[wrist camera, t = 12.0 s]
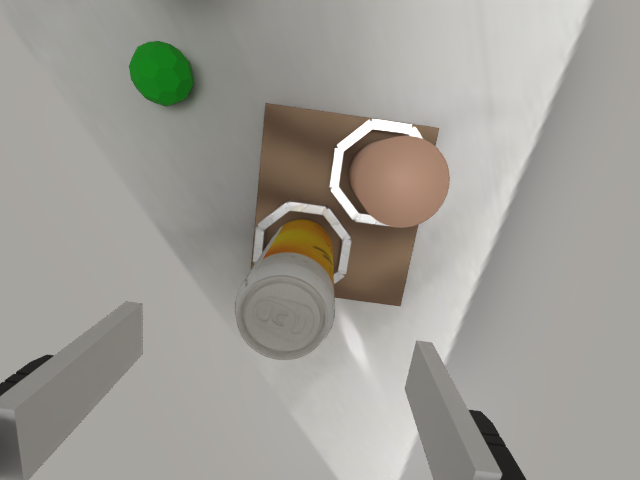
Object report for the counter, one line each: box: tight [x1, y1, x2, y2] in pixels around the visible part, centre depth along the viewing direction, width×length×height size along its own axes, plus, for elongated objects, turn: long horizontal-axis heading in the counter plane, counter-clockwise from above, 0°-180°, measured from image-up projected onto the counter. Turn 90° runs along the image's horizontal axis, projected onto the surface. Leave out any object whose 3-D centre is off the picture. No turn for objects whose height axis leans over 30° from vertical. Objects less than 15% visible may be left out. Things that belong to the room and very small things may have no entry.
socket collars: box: [253, 119, 423, 284], centre depth 32 cm, size 17×16×2 cm
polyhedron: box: [129, 41, 193, 106], centre depth 29 cm, size 5×5×5 cm
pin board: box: [251, 103, 439, 306], centre depth 33 cm, size 18×16×2 cm
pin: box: [348, 136, 450, 228], centre depth 27 cm, size 6×6×10 cm
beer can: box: [235, 219, 335, 360], centre depth 26 cm, size 6×6×15 cm
